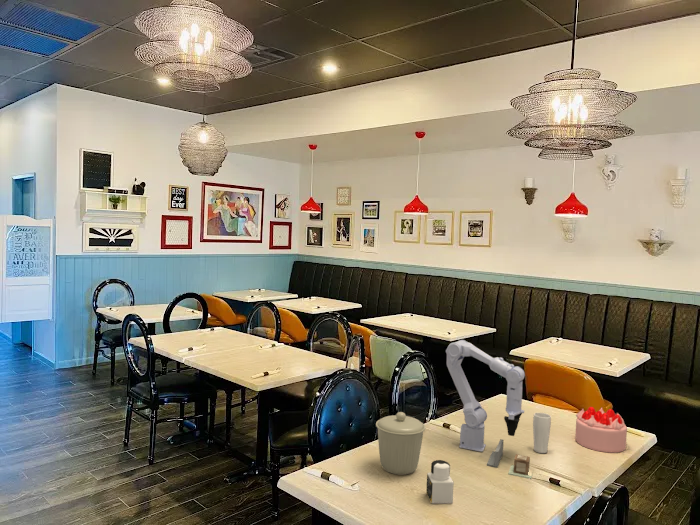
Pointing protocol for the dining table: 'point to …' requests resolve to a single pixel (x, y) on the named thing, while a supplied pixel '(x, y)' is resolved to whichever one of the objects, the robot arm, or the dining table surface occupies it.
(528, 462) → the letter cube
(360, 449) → the dining table surface
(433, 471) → the medicine bottle
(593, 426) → the cake
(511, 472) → the pad
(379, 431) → the canister
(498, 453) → the grey block
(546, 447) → the beige paper cup
